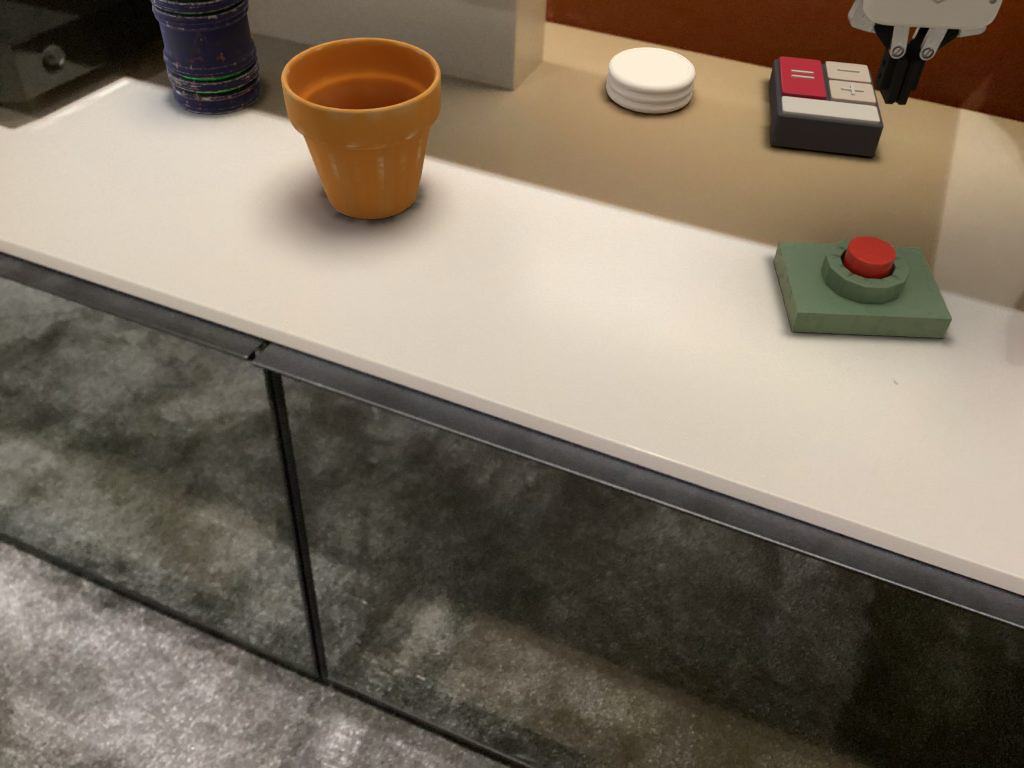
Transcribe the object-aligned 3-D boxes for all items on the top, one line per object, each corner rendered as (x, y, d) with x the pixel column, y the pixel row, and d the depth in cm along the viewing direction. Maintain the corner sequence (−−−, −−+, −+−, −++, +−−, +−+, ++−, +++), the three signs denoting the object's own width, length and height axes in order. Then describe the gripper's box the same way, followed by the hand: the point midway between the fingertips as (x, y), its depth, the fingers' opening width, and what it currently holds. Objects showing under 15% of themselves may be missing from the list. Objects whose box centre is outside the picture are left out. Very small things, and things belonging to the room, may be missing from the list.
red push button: (883, 253, 85) (889, 236, 84) (895, 281, 82) (901, 265, 81) (838, 251, 85) (843, 235, 84) (848, 279, 82) (854, 263, 81)
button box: (912, 266, 90) (927, 231, 87) (943, 338, 82) (960, 302, 80) (773, 260, 90) (783, 225, 87) (792, 331, 83) (803, 295, 80)
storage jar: (252, 66, 114) (230, -65, 103) (272, 105, 107) (251, -31, 97) (166, 80, 111) (133, -54, 100) (181, 121, 104) (149, -17, 94)
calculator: (871, 61, 111) (886, 120, 100) (861, 97, 114) (874, 157, 103) (775, 51, 112) (779, 108, 101) (767, 86, 115) (770, 145, 104)
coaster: (696, 117, 108) (702, 88, 106) (608, 114, 108) (611, 85, 106) (686, 74, 115) (690, 46, 113) (603, 72, 115) (606, 44, 113)
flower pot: (269, 199, 94) (246, 75, 85) (369, 141, 102) (359, 22, 93) (375, 255, 88) (363, 128, 79) (472, 189, 97) (472, 67, 87)
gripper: (875, -129, 66) (809, 114, 79) (1096, -118, 66) (993, 124, 79) (854, -162, 71) (795, 71, 84) (1058, -152, 71) (968, 80, 84)
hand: (891, 96), depth 81 cm, fingers closed
